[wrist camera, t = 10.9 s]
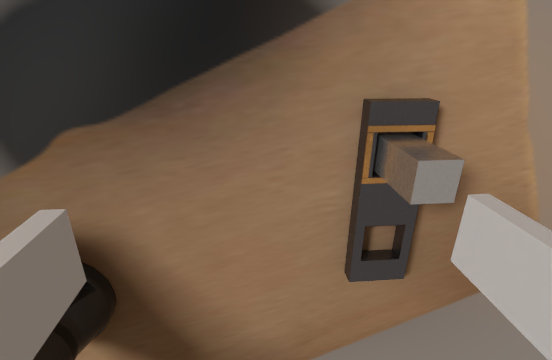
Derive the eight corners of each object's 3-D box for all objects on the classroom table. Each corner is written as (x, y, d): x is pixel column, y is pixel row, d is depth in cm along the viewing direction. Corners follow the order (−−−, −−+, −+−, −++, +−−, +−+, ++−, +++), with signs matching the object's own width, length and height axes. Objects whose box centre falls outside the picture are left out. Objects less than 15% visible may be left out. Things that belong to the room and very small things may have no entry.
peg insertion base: (344, 271, 52) (349, 282, 49) (363, 98, 41) (371, 101, 38) (396, 268, 52) (404, 279, 50) (429, 98, 42) (440, 101, 39)
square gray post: (369, 166, 45) (410, 204, 34) (373, 132, 43) (418, 160, 32) (402, 165, 45) (453, 202, 34) (408, 131, 43) (464, 159, 32)
